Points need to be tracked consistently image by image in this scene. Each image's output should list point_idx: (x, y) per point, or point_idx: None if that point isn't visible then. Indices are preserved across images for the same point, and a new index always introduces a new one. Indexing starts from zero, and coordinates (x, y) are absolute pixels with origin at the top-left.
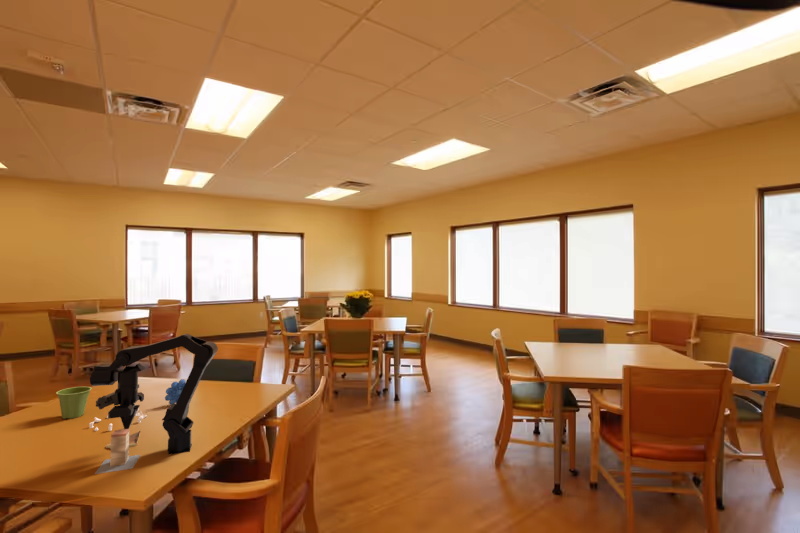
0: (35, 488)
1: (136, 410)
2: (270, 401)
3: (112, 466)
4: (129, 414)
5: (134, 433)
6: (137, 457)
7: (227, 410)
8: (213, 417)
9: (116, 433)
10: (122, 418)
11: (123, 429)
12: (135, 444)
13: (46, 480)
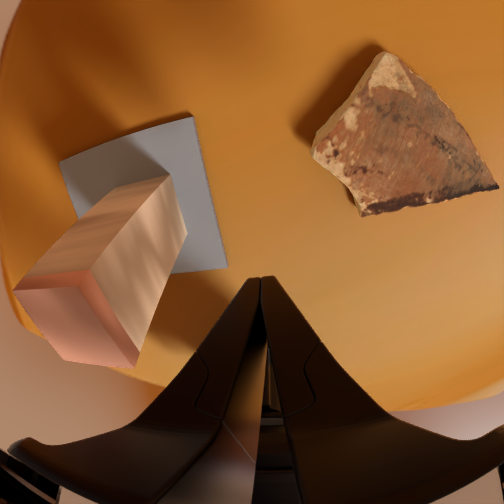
0: (16, 27)
1: (297, 492)
2: (470, 399)
3: None
4: (33, 478)
5: (486, 168)
6: (196, 266)
7: (490, 359)
8: (473, 352)
9: (39, 314)
10: (173, 402)
11: (109, 340)
12: (358, 209)
13: (54, 5)
